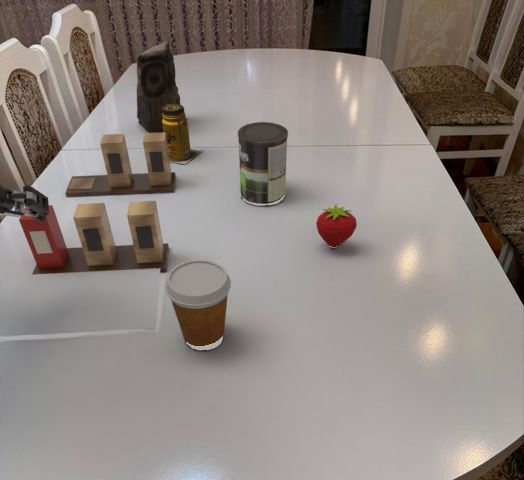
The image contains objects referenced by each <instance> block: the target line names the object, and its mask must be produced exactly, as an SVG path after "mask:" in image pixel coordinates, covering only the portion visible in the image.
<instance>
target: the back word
mask: <svg viewBox="0 0 524 480" xmlns="http://www.w3.org/2000/svg"><path fill="white" fill-rule="evenodd" d="M125 135H126V134H125V133H111V134H102V137H101V139H100V142H99V145H100V150H101V154H102V158H103V161H104V162H103V163H104V165H105V171H106V174H98V175H97V174H95V175H72V176H71V179H70V180H69V183H68V185H67V188H66V191H65V197H66V198H74V197H75V198H76V197H97V196H98V197H99V196H100V197H101V196H121V195H124V196H125V195H144V194H145V195H146V194H147V195H149V194H172V193H175V187H176V177H177V176H176V175H177V174H176V171H172V166H171V162H170V159H169V152H168V145H167V138H166V132H162V133H149V132H144V134H143V140H142V145H143V150H144V158H145V162H146V168H147V172H146V173H145V172H144V173H133V171H132V166H131V161H130V156H129V155H130V154H129V150H128V146H127V141H126V136H125Z"/></svg>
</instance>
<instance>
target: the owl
mask: <svg viewBox="0 0 524 480" xmlns="http://www.w3.org/2000/svg"><path fill="white" fill-rule="evenodd" d="M136 77H137V78H136V79H137V81H136V118H137V120H138V121H137V123H138V124H139V125H140V126H141V127H142V128H143V129H144V130H145V131H146V132H147V133H162V132H164V131H163V125H162V120H163V113H162V108H163V107H164V106H165V105H168V104H180V105H182V104H181V96H180V94H179V87H178V86H177V82H176V77H177V76H176V66H175V58H174V56H173V53H172V50H171V48H170V41H169V40H166V41H165V42H162V43H160V44H157V45H154V46H152V47H151V48H148V49H146V50H144V51H143V52H142V53H139V54H138V55H137V57H136Z"/></svg>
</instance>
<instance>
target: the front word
mask: <svg viewBox="0 0 524 480" xmlns="http://www.w3.org/2000/svg"><path fill="white" fill-rule="evenodd" d="M72 219H73V222H74V225H75V228H76V231H77V235H78V238H79V242H80V244H81V247H80V246H79V247H67V250H68V256H67V259H66V262H65V265H64V267H55V268H38V266H37V264H36V263H35V265H34V269H33V271H32V273H31V275H51V274H68V273H70V274H71V273H73V274H74V273H90V272H109V271H110V272H111V271H113V272H114V271H128V270H129V271H132V270H153V269H159V273H167V272H168V263H169V262H168V261H169V253H170V251H169V250H170V246H169V243H166V242H165V243H164V241H163V234H162V228H161V222H160V217H159V211H158V205H157V200H143V201H129V204H128V209H127V213H126V219H127V221H128V226H129V231H130V236H131V240H132V244H125V245H124V244H123V245H116V243H115V239H114V234H113V230H112V227H111V222H110V219H109V215H108V211H107V207H106V203H104V202H93V203H78V204H77V205H76V209H75V211H74V214H73V218H72Z"/></svg>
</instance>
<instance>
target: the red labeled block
mask: <svg viewBox="0 0 524 480" xmlns="http://www.w3.org/2000/svg"><path fill="white" fill-rule="evenodd" d="M53 205H54V204H49V215H47V219H45V222H38V221H36V220H35V219H33V218H32V217H30V216H25V215H24V216H21V217H19V219H18V221H19V224H20V226H21V229H22V231H23V233H24V236H25V239H26V241H27V244H28V246H29V249H30V250H31V254H32V256H33V259H34V261H35V265H36V264H37V266H38V268H55V267H64V265H65V262H66V259H67V256H68V250H67V248H68V247H67V244H66V242H65V238H64V235H63V233H62V229H61V226H60V223H59V220H58V218H57V215H56V214H57V213H56V211H55V209H54V206H53ZM24 209H25V210H28V211H29V208H25V207H24Z"/></svg>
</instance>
